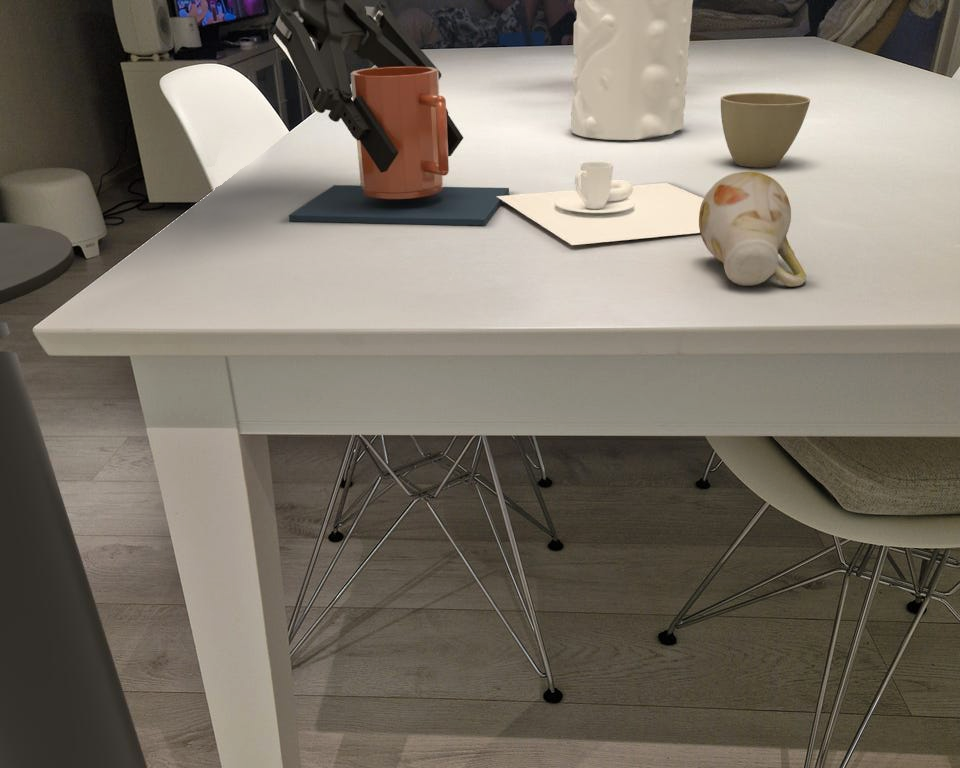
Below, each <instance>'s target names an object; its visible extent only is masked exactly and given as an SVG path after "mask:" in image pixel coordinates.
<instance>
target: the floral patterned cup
mask: <svg viewBox="0 0 960 768" xmlns="http://www.w3.org/2000/svg"><path fill="white" fill-rule="evenodd" d="M703 198H704V199H703V201H702V204H701V207H700V212H699V229H700V233H699V234H700V236H701V239H702V242H703V243H704V246H705V247H706V248H707V250H708V251H709V253H710V254H711V255H712V256H713V257H714V258H715V259H717V260H718V261H719V262H721V263H722V264H723V270H724V272H725V275H726V276H727V279H729V280H730V281H731V282H732V283H734V284H736V285H738V286H742V287H752V286H753V287H754V286H757V285H761V284H762V283H764V282H765V281H767V280H768V279H769V278H770V277H772V276H773V277H774V278H775V279H776V281H778V282H780V283H782V284H783V285H784V286H787V287H798V286H802V285H803V284H804V283H806V279H807V274H806V272H805V270H804V269H803V267H802V264H801V263H800V261H799V260H798V258H797V257H796V254H795V252H794V250H793V249H792V247H791V245H790V242H789V241H788V238H787V235H788V232H789V228H790V226H791V220H792V207H791V203H790V200H789V197H788V195H787V192H786V191H785V189H784V188H783V186H781V184H780V183H779V182H778V181H777V180H775V179H774V178H773V177H771V176H770V175H767V174H765V173H762V172H759V171H739V172H734V173H731V174H727V175H726V176H724V177H722V178H721V179H719V180H718V181H716V182H715V183H714V184H713V186H712V187H711V188H710V189H709V190H708V191H707V193H706V194H705V196H704V197H703ZM779 256H780V258H781V259H782V260H783V261H784V263H785V264H786V265H787V266H788V267H789V269H790V271H791V272H792V273H790V272H788V271H786V270H785V269H784V268H783V267H782V266H781V264H779Z"/></svg>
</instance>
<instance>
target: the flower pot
mask: <svg viewBox="0 0 960 768" xmlns="http://www.w3.org/2000/svg"><path fill="white" fill-rule="evenodd" d="M810 102H811V98H810V97H807V96H803V95H798V94H791V93H781V92H780V93H777V92H742V93H741V92H739V93H731V94H730V93H729V94H725V95H722V96H720V118H721V124H722V130H723V135H724V139H725V142H726V146H727V148H728V151H729V154H730V156H731V159H732V161H733V163H734V164H735V165H737V166H740V167H746V168H772V167H776V166H777V165H778V164H779V163H780V162H781V161H782V160H783V158H784V157H785V155H786V154H787V152H788V151H789V150H790V148H791V146H792V145H793V143H794V141H795V140H796V138H797V136H798V134H799V132H800V131H801V128H802V125H803V124H804V121H805V118H806V115H807V113H808V110H809V107H810Z"/></svg>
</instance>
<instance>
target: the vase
mask: <svg viewBox="0 0 960 768" xmlns="http://www.w3.org/2000/svg"><path fill="white" fill-rule="evenodd" d="M693 2H694V0H574V3H573V4H574V5H573V6H574V10H575V11H576V18H575V19H576V20H575V21H574V22H573V42H572V43H573V44H572V48H573V55H574V57H576V59H575V61H574V64H573V65H574V66H573V70H572V71H573V72H572V89H573V92H574V98H573V99H572V102H571V111H570V116H571V117H570V118H571V119H570V120H571V121H570V131H571V132H572V134H574V135H577V136H579V137H584V138H588V139H589V138H590V139H595V140H596V139H597V140H598V139H599V140H608V141H609V140H610V141H613V140H614V141H634V140H635V141H639V140H647V139H652V138H658V137H663V136H667V135H672V134H674V133H675V132H677V131H680V130H683V129H684V128H685V121H684V118H685V107H686V93H687V89H686V86H687V82H688V81H687V79H688V67H689V56H690V55H689V54H690V53H689V46H690V42H691V41H690V36H691V28H692V27H691V26H692V18H693Z"/></svg>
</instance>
